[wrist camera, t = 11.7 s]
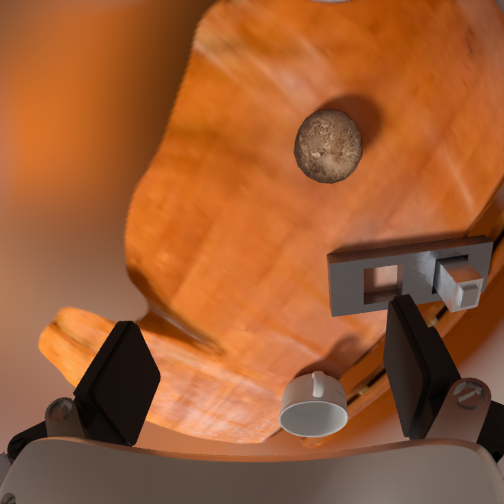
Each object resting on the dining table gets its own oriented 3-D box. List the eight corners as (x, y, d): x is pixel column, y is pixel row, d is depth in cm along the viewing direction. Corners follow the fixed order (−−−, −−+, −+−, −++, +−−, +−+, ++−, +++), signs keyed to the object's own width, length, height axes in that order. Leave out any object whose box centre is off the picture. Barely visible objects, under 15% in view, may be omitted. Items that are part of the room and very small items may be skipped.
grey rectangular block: (431, 253, 39) (458, 285, 31) (456, 249, 38) (485, 280, 31) (428, 279, 41) (452, 315, 33) (453, 275, 40) (479, 309, 32)
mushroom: (387, 159, 31) (367, 156, 27) (334, 195, 37) (306, 199, 32) (349, 101, 33) (322, 90, 28) (301, 140, 38) (270, 137, 34)
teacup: (331, 406, 53) (334, 440, 46) (274, 399, 54) (272, 435, 46) (358, 353, 47) (367, 391, 40) (292, 345, 47) (293, 384, 40)
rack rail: (330, 306, 44) (332, 316, 42) (326, 254, 40) (329, 263, 38) (477, 282, 40) (484, 291, 38) (484, 234, 37) (493, 242, 35)
